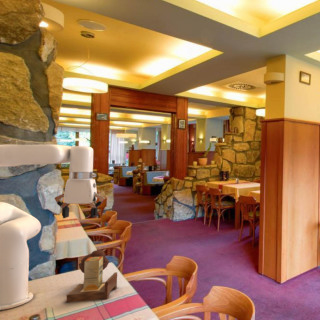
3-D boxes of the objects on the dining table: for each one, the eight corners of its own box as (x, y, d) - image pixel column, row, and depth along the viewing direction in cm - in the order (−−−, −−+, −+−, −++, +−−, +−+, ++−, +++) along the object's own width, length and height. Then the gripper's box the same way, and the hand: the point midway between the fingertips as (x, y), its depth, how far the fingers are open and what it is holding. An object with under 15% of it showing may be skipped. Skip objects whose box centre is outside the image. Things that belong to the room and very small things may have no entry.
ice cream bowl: (105, 276, 136) (106, 245, 136) (110, 283, 129) (111, 250, 129) (76, 282, 129) (77, 249, 129) (80, 291, 121) (81, 256, 121)
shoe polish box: (102, 284, 121) (103, 256, 121) (98, 289, 117) (99, 260, 117) (88, 285, 120) (89, 257, 120) (83, 290, 115) (84, 261, 115)
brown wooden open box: (66, 302, 112) (66, 284, 112) (79, 290, 121) (79, 274, 121) (107, 299, 115) (107, 281, 115) (116, 288, 125) (117, 272, 125)
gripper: (109, 175, 123) (107, 215, 123) (61, 175, 119) (60, 215, 119) (101, 177, 116) (100, 218, 116) (50, 176, 111) (48, 219, 112)
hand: (79, 217), depth 117 cm, fingers open, 9 cm apart
